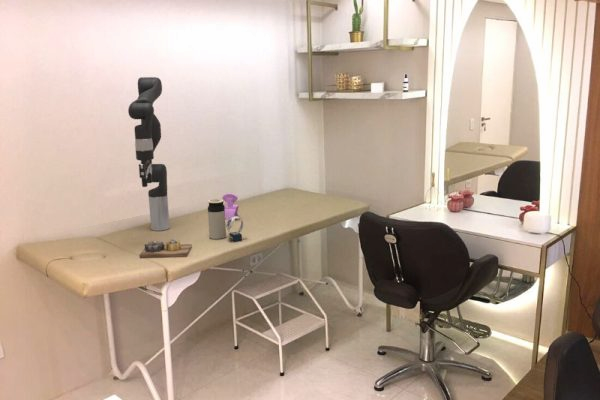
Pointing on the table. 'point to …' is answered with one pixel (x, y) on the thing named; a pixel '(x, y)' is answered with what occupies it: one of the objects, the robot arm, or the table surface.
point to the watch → (234, 235)
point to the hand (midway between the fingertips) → (147, 184)
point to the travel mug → (216, 219)
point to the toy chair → (230, 205)
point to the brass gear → (173, 246)
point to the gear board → (164, 250)
